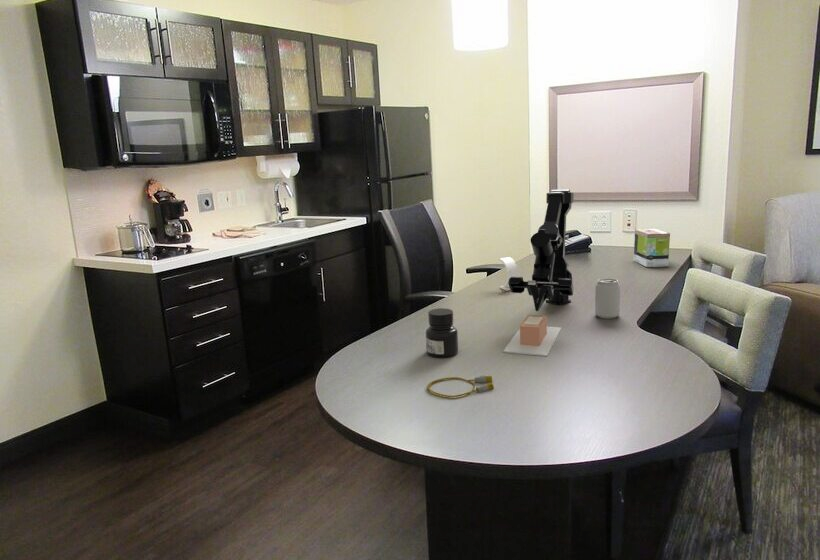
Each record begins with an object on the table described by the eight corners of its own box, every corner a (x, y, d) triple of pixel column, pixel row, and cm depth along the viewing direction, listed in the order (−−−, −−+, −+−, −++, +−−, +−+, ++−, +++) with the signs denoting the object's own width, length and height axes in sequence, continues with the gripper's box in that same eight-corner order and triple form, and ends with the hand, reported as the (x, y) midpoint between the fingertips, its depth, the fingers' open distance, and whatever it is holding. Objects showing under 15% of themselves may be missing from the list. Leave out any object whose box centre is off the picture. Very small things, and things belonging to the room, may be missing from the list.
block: (528, 314, 171) (519, 325, 162) (546, 315, 169) (539, 326, 159) (528, 332, 173) (520, 344, 163) (546, 333, 170) (539, 346, 161)
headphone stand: (509, 286, 229) (509, 256, 226) (518, 289, 224) (518, 259, 221) (499, 288, 227) (499, 258, 225) (508, 291, 222) (508, 260, 219)
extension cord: (488, 404, 129) (488, 395, 129) (421, 398, 134) (421, 390, 134) (497, 382, 141) (497, 374, 140) (435, 377, 145) (435, 370, 145)
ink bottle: (421, 350, 164) (418, 310, 161) (448, 344, 167) (446, 305, 164) (435, 361, 155) (433, 318, 152) (464, 355, 158) (463, 313, 156)
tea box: (669, 266, 247) (670, 232, 244) (645, 267, 247) (647, 233, 244) (655, 259, 262) (656, 227, 258) (632, 261, 262) (634, 228, 259)
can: (621, 319, 181) (622, 282, 178) (596, 319, 182) (597, 282, 180) (617, 312, 188) (618, 276, 185) (593, 312, 190) (594, 277, 187)
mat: (522, 325, 180) (522, 324, 180) (561, 328, 175) (561, 327, 175) (503, 352, 159) (503, 350, 159) (547, 356, 154) (547, 354, 154)
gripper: (577, 280, 179) (572, 325, 172) (518, 278, 187) (510, 321, 179) (574, 261, 171) (568, 307, 163) (512, 259, 178) (503, 303, 171)
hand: (536, 310), depth 169 cm, fingers closed
